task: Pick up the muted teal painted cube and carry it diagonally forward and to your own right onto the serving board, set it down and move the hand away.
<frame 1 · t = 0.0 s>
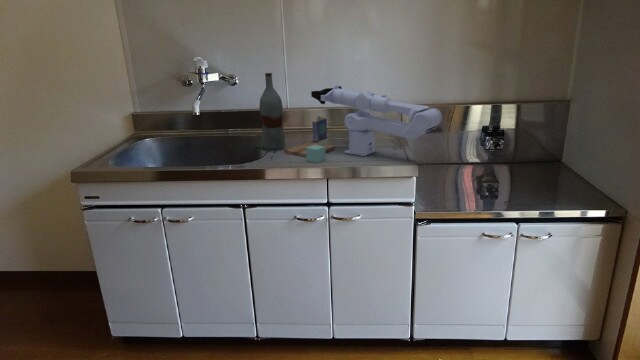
hand: (318, 92, 174), 22 cm above the worktop, tool horizontal, fingers open, 7 cm apart
dark blue flat box: (320, 140, 192), on the worktop
cube: (316, 160, 162), on the worktop
bottle: (274, 147, 182), on the worktop
board: (309, 151, 174), on the worktop
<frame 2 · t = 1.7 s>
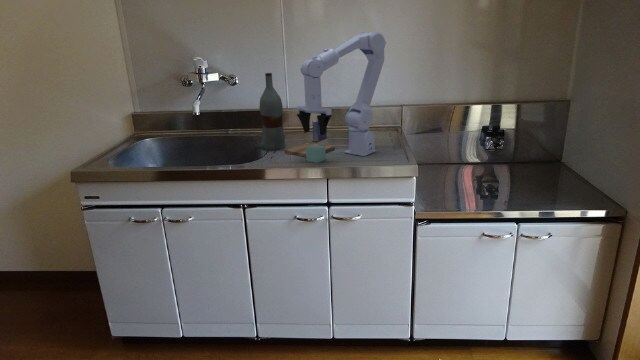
hand: (314, 133, 159), 10 cm above the worktop, tool pointing down, fingers open, 7 cm apart
nothing on the worktop moved.
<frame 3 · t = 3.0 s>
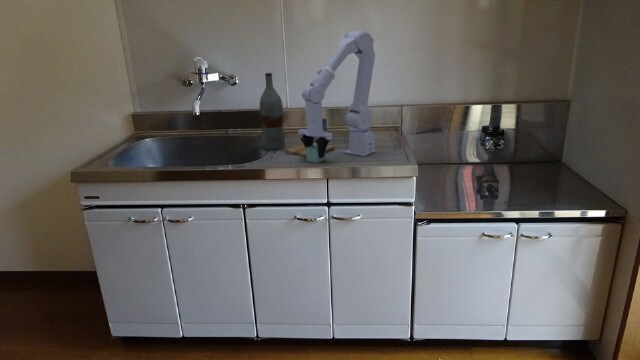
hand: (315, 156, 161), 1 cm above the worktop, tool pointing down, fingers closed on cube, 5 cm apart
cube: (316, 160, 162), on the worktop, touching gripper
everything else where it was.
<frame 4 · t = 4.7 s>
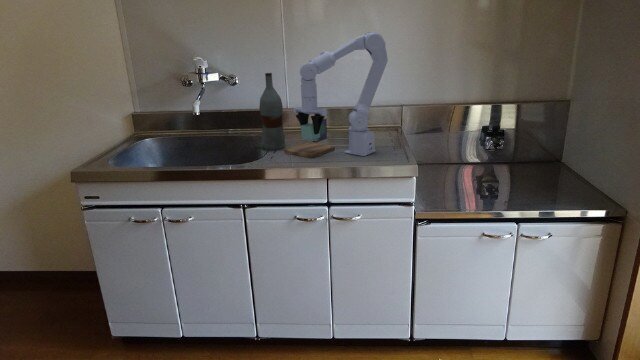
hand: (311, 133, 166), 8 cm above the worktop, tool pointing down, fingers closed on cube, 5 cm apart
cube: (310, 137, 167), point 7 cm above the worktop, touching gripper
everything else where it was.
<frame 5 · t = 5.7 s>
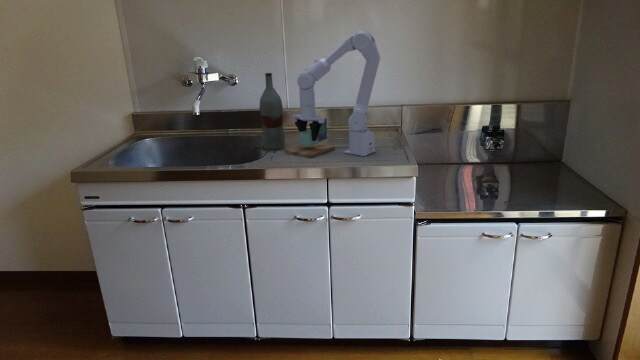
hand: (309, 139, 172), 5 cm above the worktop, tool pointing down, fingers closed on cube, 5 cm apart
cube: (309, 144, 173), point 3 cm above the worktop, touching gripper
everything else where it was.
when the fingers open (4 cm above the worktop, at t = 6.4 s): cube stays where it is, resting on board.
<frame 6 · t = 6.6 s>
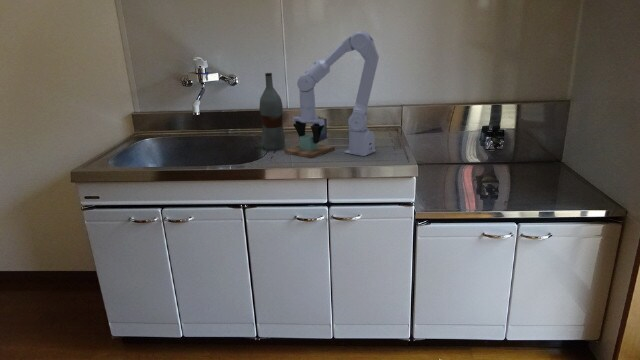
hand: (309, 141, 172), 4 cm above the worktop, tool pointing down, fingers open, 7 cm apart
cube: (309, 148, 173), point 1 cm above the worktop, touching board
everything else where it was.
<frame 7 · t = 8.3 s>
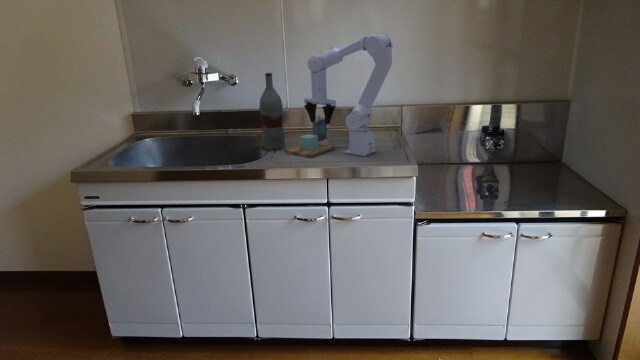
hand: (320, 122, 174), 10 cm above the worktop, tool pointing down, fingers open, 7 cm apart
nothing on the worktop moved.
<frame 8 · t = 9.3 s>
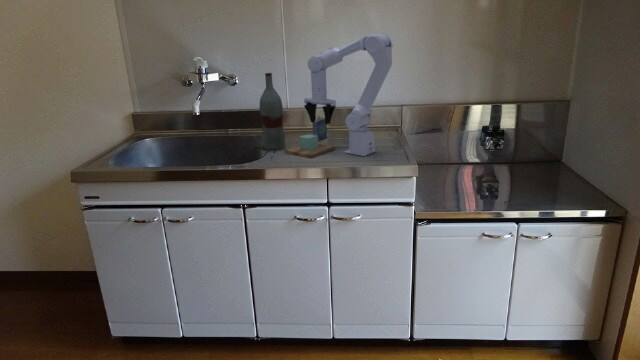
hand: (320, 122, 174), 10 cm above the worktop, tool pointing down, fingers open, 7 cm apart
nothing on the worktop moved.
at the end: cube 0.3 cm from the board (horizontally); cube point 1.2 cm above the worktop; cube tilted 0° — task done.
